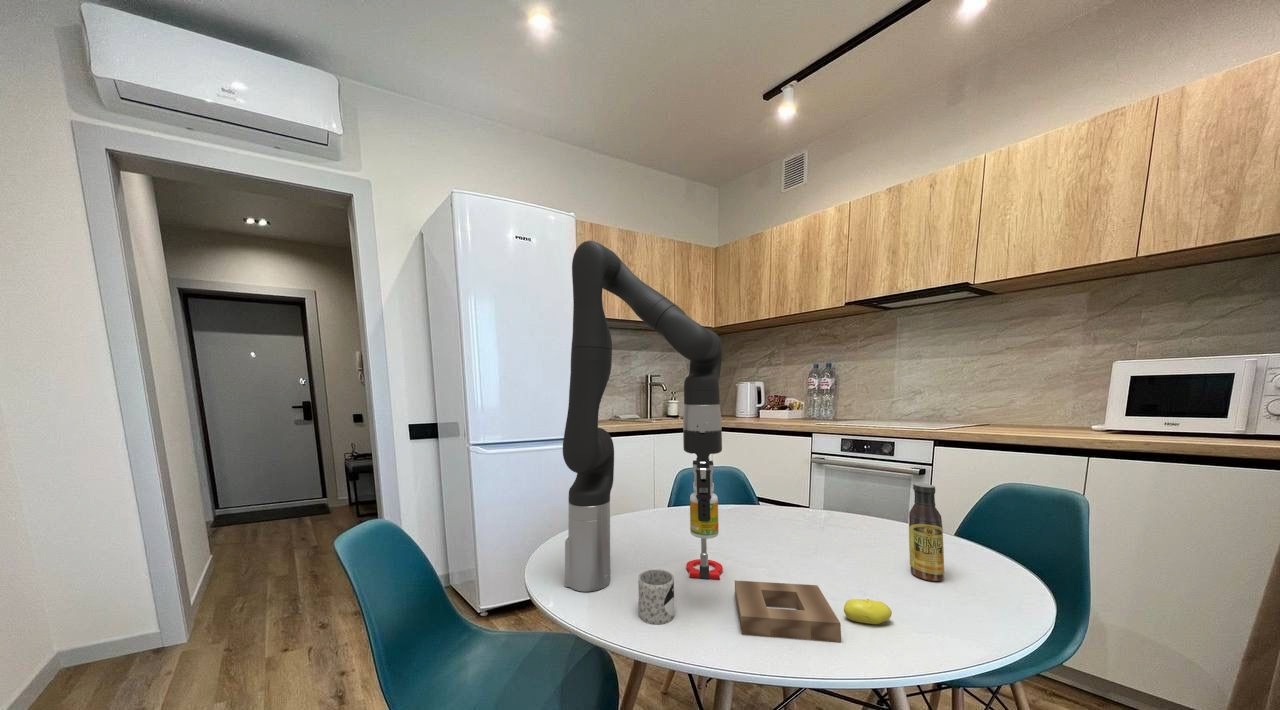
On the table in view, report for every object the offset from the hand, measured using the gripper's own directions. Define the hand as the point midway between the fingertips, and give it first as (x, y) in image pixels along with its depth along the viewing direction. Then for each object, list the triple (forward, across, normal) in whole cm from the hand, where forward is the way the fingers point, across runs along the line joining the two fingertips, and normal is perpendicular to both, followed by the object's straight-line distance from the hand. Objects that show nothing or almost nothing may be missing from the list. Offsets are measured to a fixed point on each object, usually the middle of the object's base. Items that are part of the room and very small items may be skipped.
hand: (704, 515), depth 77 cm
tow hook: (+18, -17, 0) cm, 25 cm away
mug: (+18, +1, -9) cm, 20 cm away
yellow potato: (+18, 0, +29) cm, 34 cm away
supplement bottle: (+4, 0, 0) cm, 4 cm away
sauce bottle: (+17, -20, +49) cm, 56 cm away
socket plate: (+17, 0, +14) cm, 22 cm away
